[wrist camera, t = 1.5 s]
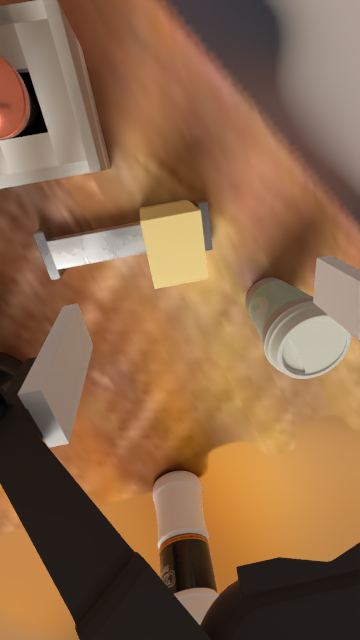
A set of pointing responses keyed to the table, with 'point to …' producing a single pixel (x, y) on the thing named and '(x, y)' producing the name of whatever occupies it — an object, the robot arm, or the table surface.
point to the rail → (101, 244)
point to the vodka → (184, 542)
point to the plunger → (14, 102)
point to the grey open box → (50, 97)
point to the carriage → (174, 243)
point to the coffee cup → (295, 329)
